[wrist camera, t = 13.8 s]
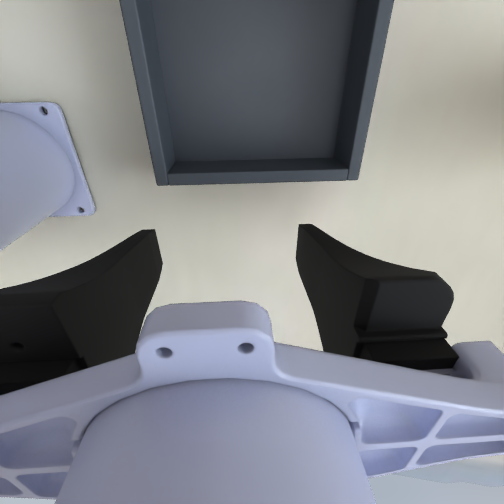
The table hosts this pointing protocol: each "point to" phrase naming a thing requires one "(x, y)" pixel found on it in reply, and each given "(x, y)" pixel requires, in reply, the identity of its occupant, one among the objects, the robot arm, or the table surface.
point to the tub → (256, 86)
